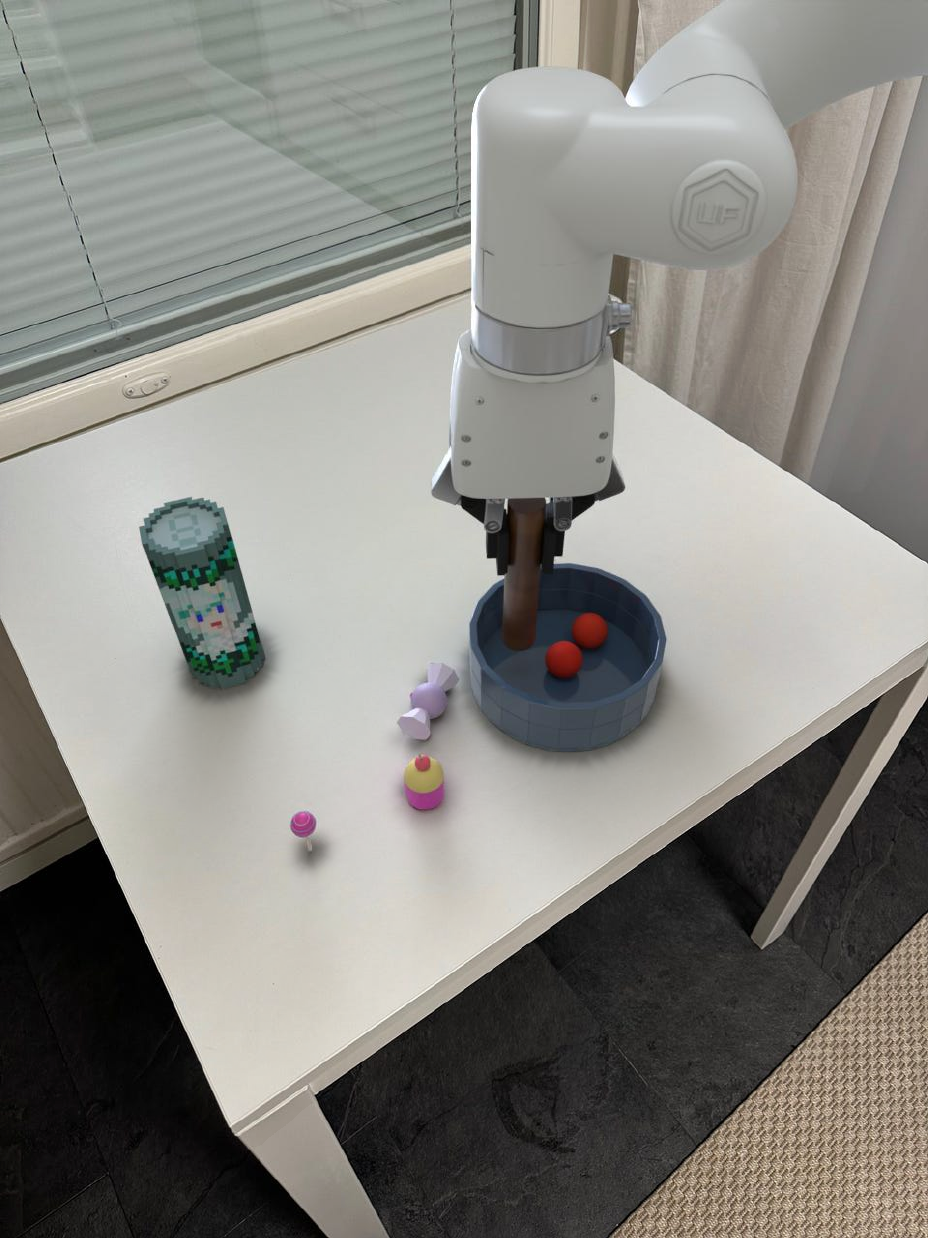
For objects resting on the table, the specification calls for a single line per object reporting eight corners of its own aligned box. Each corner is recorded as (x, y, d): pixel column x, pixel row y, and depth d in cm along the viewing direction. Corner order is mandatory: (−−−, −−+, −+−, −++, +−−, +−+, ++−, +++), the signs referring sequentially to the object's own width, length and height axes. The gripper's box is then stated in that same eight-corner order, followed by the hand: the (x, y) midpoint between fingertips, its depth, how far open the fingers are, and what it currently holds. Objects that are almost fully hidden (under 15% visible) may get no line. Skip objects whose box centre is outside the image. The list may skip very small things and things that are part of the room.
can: (196, 696, 73) (145, 563, 61) (185, 643, 76) (135, 509, 65) (270, 675, 74) (233, 541, 63) (256, 625, 78) (218, 490, 67)
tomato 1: (578, 656, 74) (581, 632, 72) (583, 685, 72) (586, 661, 70) (542, 658, 74) (544, 634, 72) (546, 686, 72) (548, 662, 70)
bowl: (638, 605, 79) (646, 560, 75) (671, 748, 68) (683, 704, 64) (466, 611, 79) (466, 566, 75) (474, 755, 68) (473, 712, 64)
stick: (533, 625, 71) (544, 487, 61) (536, 650, 69) (548, 512, 59) (500, 626, 71) (506, 488, 61) (503, 651, 69) (508, 513, 59)
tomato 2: (603, 628, 76) (606, 604, 74) (608, 655, 74) (612, 631, 72) (568, 630, 76) (571, 606, 74) (572, 656, 74) (575, 632, 72)
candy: (402, 672, 74) (397, 623, 69) (492, 701, 72) (493, 652, 67) (293, 856, 63) (278, 811, 58) (395, 896, 61) (389, 853, 56)
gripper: (667, 290, 53) (627, 523, 67) (395, 296, 53) (410, 529, 66) (693, 357, 48) (644, 595, 61) (392, 364, 48) (410, 602, 61)
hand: (523, 559), depth 64 cm, fingers closed on stick, 2 cm apart
